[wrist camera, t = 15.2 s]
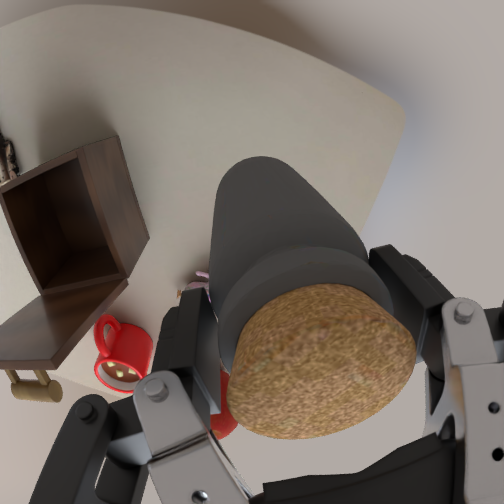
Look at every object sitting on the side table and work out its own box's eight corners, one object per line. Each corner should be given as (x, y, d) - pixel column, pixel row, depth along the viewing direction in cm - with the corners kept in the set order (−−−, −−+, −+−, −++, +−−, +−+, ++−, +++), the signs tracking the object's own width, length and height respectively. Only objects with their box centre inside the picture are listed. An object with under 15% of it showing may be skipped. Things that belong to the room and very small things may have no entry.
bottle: (198, 186, 19) (143, 378, 6) (277, 138, 18) (417, 235, 5) (245, 254, 21) (275, 464, 8) (318, 212, 20) (443, 387, 7)
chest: (39, 168, 31) (-5, 189, 22) (118, 135, 31) (82, 146, 22) (72, 258, 37) (41, 296, 28) (149, 238, 37) (129, 278, 28)
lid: (-40, 359, 14) (-11, 407, 15) (50, 359, 14) (88, 421, 15) (38, 295, 28) (54, 334, 29) (126, 277, 28) (142, 322, 29)
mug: (125, 297, 41) (109, 332, 34) (161, 353, 46) (154, 390, 39) (85, 308, 41) (67, 342, 34) (123, 361, 46) (112, 395, 39)
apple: (179, 351, 46) (170, 422, 34) (241, 354, 47) (246, 426, 35) (182, 389, 50) (177, 453, 38) (236, 391, 52) (241, 456, 39)
